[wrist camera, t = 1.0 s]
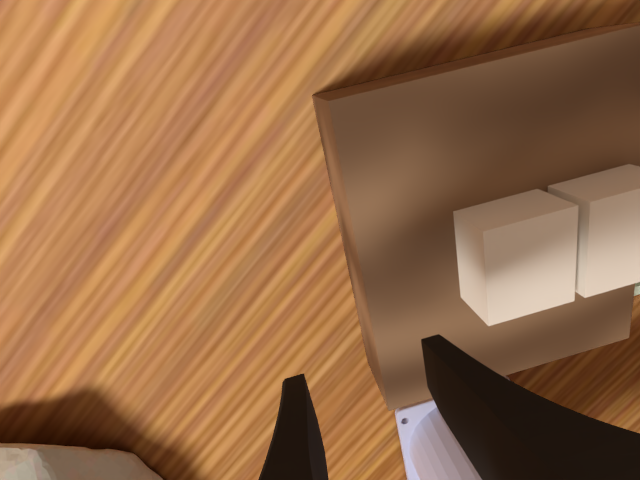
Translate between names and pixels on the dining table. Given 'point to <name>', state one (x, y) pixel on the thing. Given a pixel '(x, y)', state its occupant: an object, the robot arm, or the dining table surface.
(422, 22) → the dining table surface
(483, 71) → the dark wooden board
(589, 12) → the dining table surface
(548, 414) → the robot arm
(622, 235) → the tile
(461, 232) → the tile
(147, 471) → the crumpled grey cloth
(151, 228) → the dining table surface
